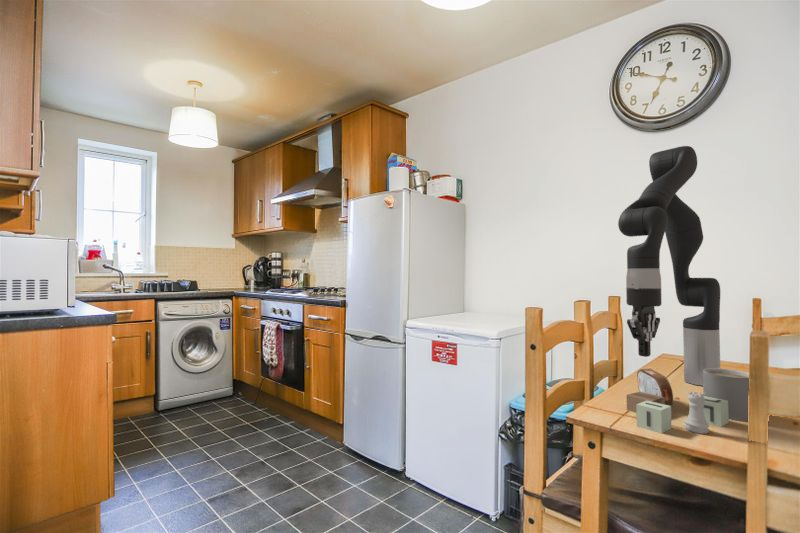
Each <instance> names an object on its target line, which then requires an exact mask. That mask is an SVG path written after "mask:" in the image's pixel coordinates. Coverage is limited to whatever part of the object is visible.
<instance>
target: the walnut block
mask: <svg viewBox="0 0 800 533" xmlns="http://www.w3.org/2000/svg"><path fill="white" fill-rule="evenodd" d="M625 398H626V411H628V412H633V413H635V414H637V410H636V404H639V403H641V402H644V401H651V402H656V403H660V404H664V405H665V397H661V396H657V395H653V394H649V393H644V392H640V391H637V392H633V393H629V394H626V396H625Z"/></svg>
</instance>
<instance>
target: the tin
mask: <svg viewBox="0 0 800 533" xmlns="http://www.w3.org/2000/svg"><path fill="white" fill-rule="evenodd" d="M636 377H637V387H638V388H637V389H638V392H644V393H649V394H653V395H657V396H661V397H665V405H668V406H671V407H673V402H674V394H673V389H672V386H671V383H670V381H669V379H668V378H667V377H666V376H665V375H664V374H663V373H660V372H658V371H656V370H654V369H652V368H640V369H639V370H637V374H636Z"/></svg>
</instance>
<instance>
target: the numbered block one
mask: <svg viewBox="0 0 800 533" xmlns="http://www.w3.org/2000/svg"><path fill="white" fill-rule="evenodd" d="M636 410H637V413H636V427H637V428H641V429H643V430H648V431H652V432H654V433H658V434H661V435H662V434H664V433H665V432H667V431H670V430H671V429H672V406H668V405H664V404H660V403H656V402H651V401H644V402H641V403H639V404H636Z"/></svg>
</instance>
